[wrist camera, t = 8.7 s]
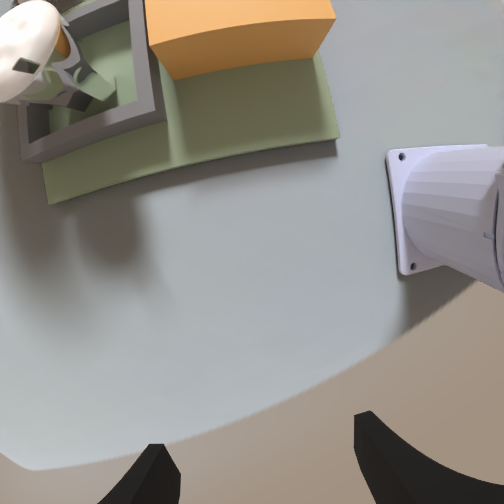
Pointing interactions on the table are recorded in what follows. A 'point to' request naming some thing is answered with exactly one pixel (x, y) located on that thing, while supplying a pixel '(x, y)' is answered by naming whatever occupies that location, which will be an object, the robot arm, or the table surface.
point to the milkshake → (50, 63)
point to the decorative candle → (23, 1)
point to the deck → (186, 89)
